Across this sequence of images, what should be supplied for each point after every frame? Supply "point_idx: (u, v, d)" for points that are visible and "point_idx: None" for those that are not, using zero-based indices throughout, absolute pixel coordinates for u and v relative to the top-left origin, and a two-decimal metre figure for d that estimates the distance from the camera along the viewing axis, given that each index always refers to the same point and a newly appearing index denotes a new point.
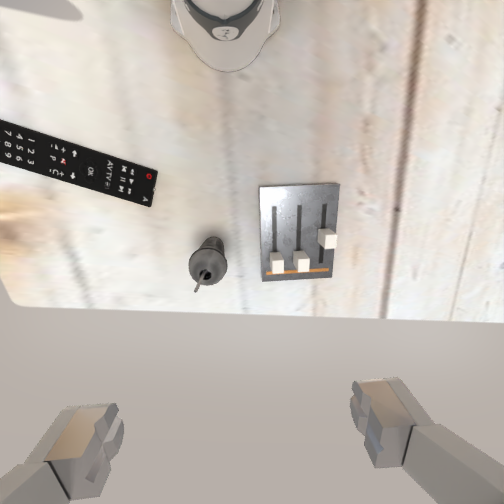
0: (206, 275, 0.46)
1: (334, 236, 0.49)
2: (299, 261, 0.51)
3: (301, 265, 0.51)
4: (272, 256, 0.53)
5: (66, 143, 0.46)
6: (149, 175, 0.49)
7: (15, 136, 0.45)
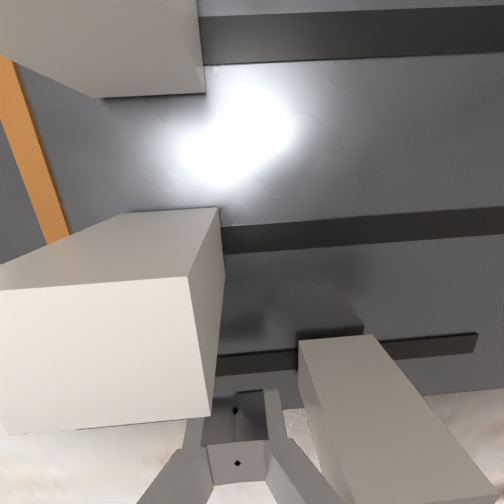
0: None
1: None
2: (148, 296, 0.03)
3: (72, 333, 0.03)
4: None
5: None
6: None
7: None
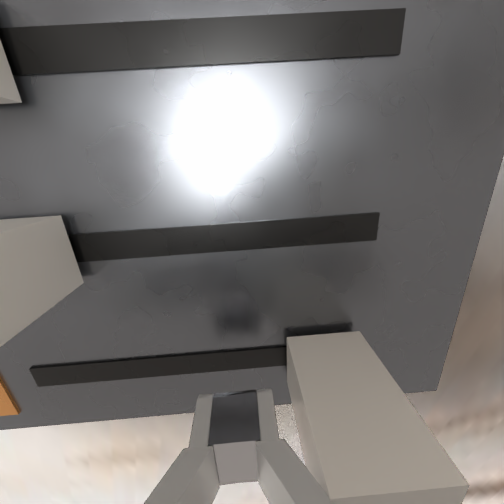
0: None
1: None
2: None
3: None
4: None
5: None
6: None
7: None
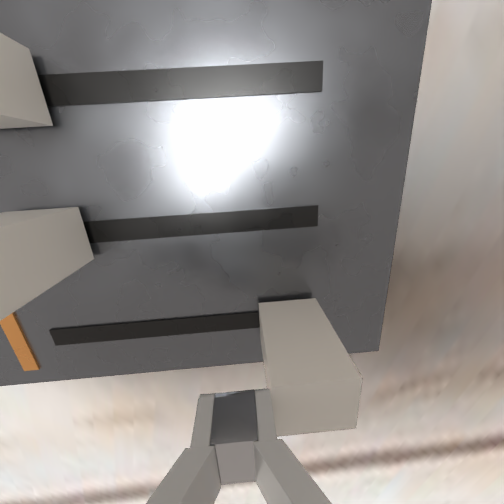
0: None
1: (346, 417, 0.08)
2: None
3: None
4: None
5: None
6: None
7: None
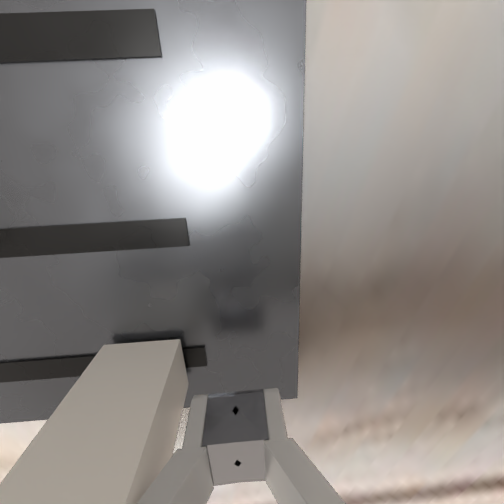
0: None
1: None
2: None
3: None
4: None
5: None
6: None
7: None
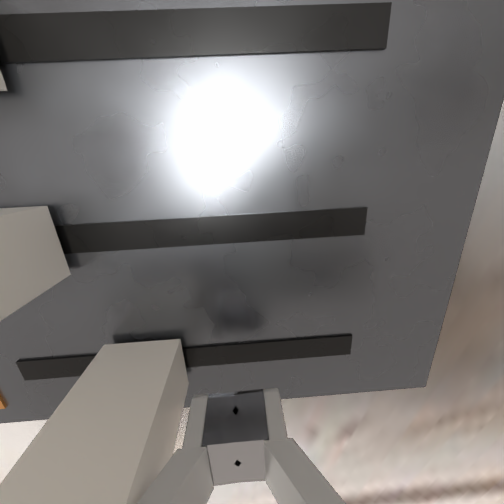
0: None
1: None
2: None
3: None
4: None
5: None
6: None
7: None
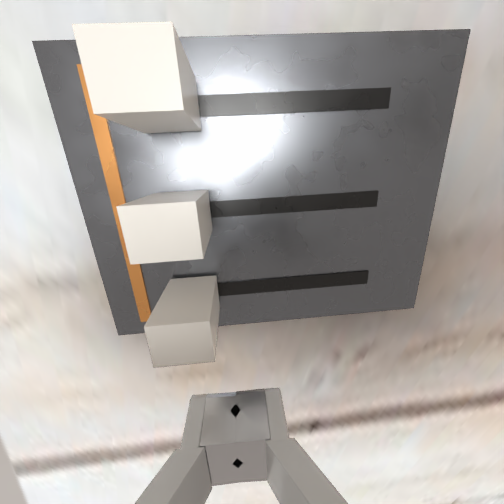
0: None
1: (205, 353, 0.12)
2: (183, 208, 0.09)
3: (158, 221, 0.09)
4: (187, 65, 0.10)
5: None
6: None
7: None
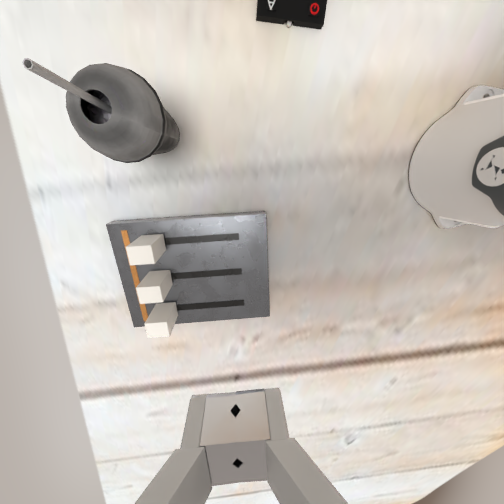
0: (96, 111, 0.20)
1: (166, 333, 0.33)
2: (155, 287, 0.31)
3: (148, 291, 0.31)
4: (157, 241, 0.31)
5: None
6: (316, 10, 0.27)
7: None
